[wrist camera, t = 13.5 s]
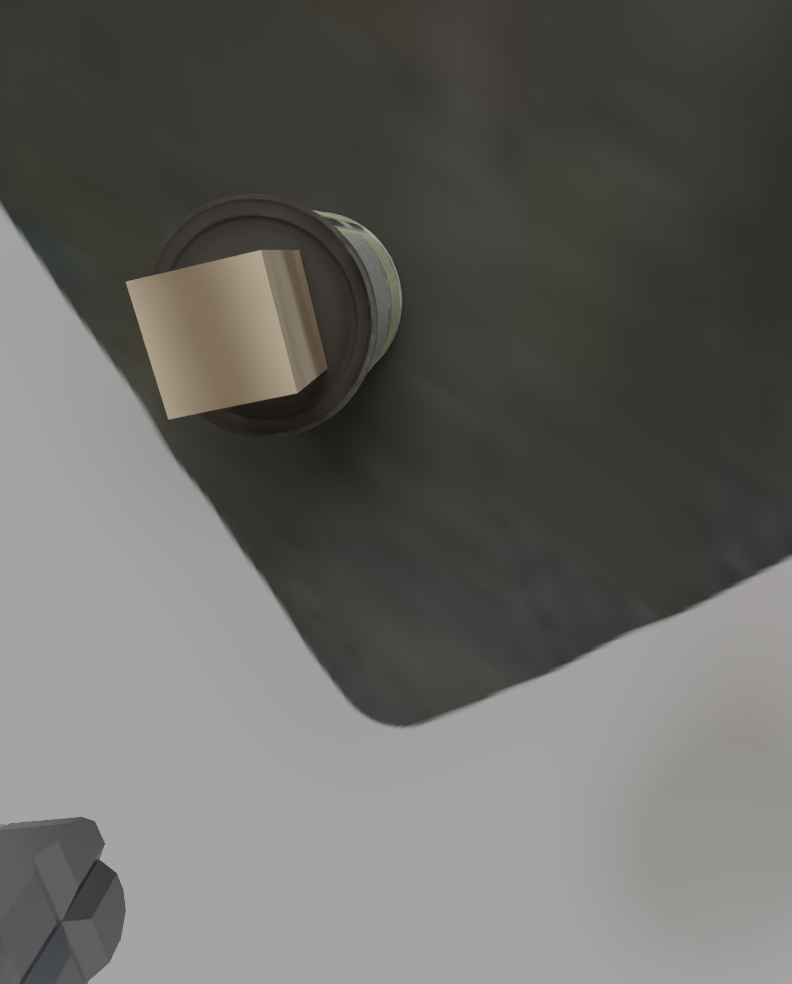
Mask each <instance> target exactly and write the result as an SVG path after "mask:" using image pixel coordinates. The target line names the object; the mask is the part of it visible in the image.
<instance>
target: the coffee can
mask: <svg viewBox="0 0 792 984" xmlns="http://www.w3.org/2000/svg"><path fill="white" fill-rule="evenodd" d="M258 250H299V251H300V255H301V259H302V263H303V267H304V271H305V276H306V280H307V284H308V288H309V292H310V296H311V300H312V305H313V309H314V313H315V317H316V321H317V325H318V329H319V334H320V338H321V342H322V346H323V350H324V354H325V359H326V363H327V367H328V368H327V369H326V370H325V371H324V372H323V373H321V374H320V375H319V376H318V377H316V378H315V379H314V380H313V381H312V382H310V383H309V384H308V385H307V386H306V387H304V388H303V389H302V390H301V391H300V392H298V393H296V394H291V395H286V396H281V397H276V398H271V399H267V400H262V401H257V402H252V403H247V404H242V405H237V406H232V407H227V408H222V409H217V410H212V411H207V412H203V413H198V415H200V416H201V417H203V418H204V419H206V420H208V421H209V422H211V423H213V424H215V425H217V426H219V427H221V428H223V429H225V430H228V431H231V432H234V433H238V434H242V435H246V436H253V437H267V438H274V437H284V436H289V435H294V434H298V433H301V432H304V431H307V430H309V429H311V428H314V427H316V426H318V425H320V424H321V423H323V422H325V421H326V420H328V419H329V418H331V417H332V416H334V415H335V414H336V413H337V412H339V411H340V410H341V409H342V408H343V407H344V406H345V405H346V404H347V403H348V402H349V401H350V399H351V398H352V397H353V396H354V394H355V393H356V391H357V390H358V389H359V387H360V386H361V384H362V382H363V380H364V379H365V376H366V375H367V373H368V372H369V371H370V370H371V368H372V367H373V366H374V364H375V363H377V362H378V360H379V359H380V358H381V357H382V356H383V355H384V354H385V352H386V351H387V349H388V348H389V346H390V345H391V343H392V341H393V339H394V337H395V335H396V332H397V330H398V327H399V323H400V318H401V312H402V290H401V285H400V280H399V276H398V273H397V270H396V268H395V265H394V262H393V260H392V258H391V256H390V255H389V253H388V252H387V250H386V249H385V247H384V246H383V244H382V243H381V242H380V241H379V240H378V239H377V238H376V237H375V235H373V234H372V233H371V232H370V231H369V230H367V229H366V228H365V227H364V226H362V225H360V224H359V223H357V222H355V221H353V220H351V219H349V218H347V217H344V216H342V215H337V214H333V213H327V212H319V211H315V210H311V209H309V208H307V207H305V206H303V205H300V204H298V203H295V202H293V201H290V200H287V199H284V198H279V197H275V196H268V195H259V194H248V195H235V196H230V197H226V198H222V199H219V200H215V201H213V202H210V203H208V204H206V205H204V206H202V207H200V208H199V209H197V210H195V211H194V212H192V213H191V214H189V215H188V216H187V217H186V218H184V219H183V220H182V221H181V222H180V223H179V224H178V225H177V226H176V227H175V228H174V229H173V230H172V231H171V232H170V233H169V234H168V236H167V237H166V238H165V239H164V241H163V242H162V244H161V246H160V247H159V249H158V251H157V253H156V255H155V257H154V259H153V261H152V264H151V267H150V270H149V273H148V276H153V275H157V274H161V273H165V272H169V271H174V270H178V269H182V268H186V267H191V266H195V265H199V264H203V263H208V262H212V261H216V260H220V259H225V258H229V257H233V256H237V255H241V254H246V253H250V252H254V251H258Z"/></svg>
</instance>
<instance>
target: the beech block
mask: <svg viewBox="0 0 792 984" xmlns="http://www.w3.org/2000/svg"><path fill="white" fill-rule="evenodd" d="M126 284H127V287H128V290H129V294H130V297H131V300H132V303H133V307H134V310H135V313H136V316H137V320H138V323H139V326H140V329H141V332H142V336H143V339H144V342H145V345H146V349H147V352H148V355H149V358H150V362H151V365H152V368H153V371H154V374H155V378H156V381H157V384H158V387H159V391H160V394H161V397H162V400H163V404H164V407H165V410H166V413H167V416H168V419H173V418H178V417H183V416H188V415H193V414H198V413H203V412H207V411H212V410H217V409H222V408H227V407H232V406H237V405H242V404H247V403H252V402H257V401H262V400H267V399H271V398H276V397H281V396H286V395H291V394H296V393H298V392H300V391H301V390H302V389H303V388H304V387H306V386H307V385H308V384H309V383H310V382H312V381H313V380H314V379H315V378H316V377H318V376H319V375H320V374H321V373H323V372H324V371H325V370H326V369H327V368H328V367H327V363H326V359H325V354H324V350H323V346H322V342H321V338H320V334H319V329H318V325H317V321H316V317H315V313H314V309H313V305H312V300H311V296H310V292H309V288H308V284H307V280H306V276H305V271H304V267H303V263H302V259H301V255H300V251H299V250H258V251H254V252H250V253H246V254H241V255H237V256H233V257H229V258H225V259H220V260H216V261H212V262H208V263H203V264H199V265H195V266H191V267H186V268H182V269H178V270H174V271H169V272H165V273H161V274H157V275H153V276H148V277H144V278H140V279H136V280H131V281H127V282H126Z"/></svg>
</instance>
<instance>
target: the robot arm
mask: <svg viewBox="0 0 792 984" xmlns="http://www.w3.org/2000/svg"><path fill="white" fill-rule="evenodd" d="M104 844H105V843H104V841H103V839H102V836H101V834H100V832H99V830H98V827H97V825H96V823H95V822H94V821H92V820H89V819H86V818H83V817H77V818H67V819H55V820H44V821H32V822H22V823H10V824H8V825H0V984H88V983H87V982H88V981H89V980H90V979H91V978H92V977H93V976H95V975H96V974H97V973H98V972H99V971H100V970H101V969H102V968H103V967H105V966H106V965H107V964H108V963H109V962H110V960H111V958H112V956H113V953H114V952H115V949H116V947H117V945H118V943H119V941H120V939H121V933H122V929H123V923H124V917H125V912H126V910H125V901H124V892H123V888H122V886H121V883H120V880H119V878H118V875H117V873H116V872H114V871H113V870H112V869H111V868H109V867H108V866H107V865H105V864H104V863H103V862H101V861H100V860H99V859H100V856H101V853H102V850H103V847H104Z"/></svg>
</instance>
